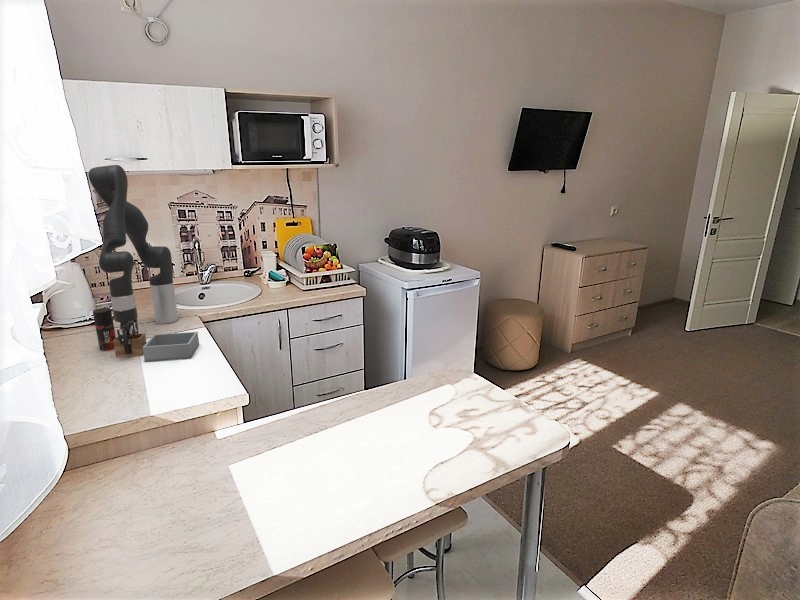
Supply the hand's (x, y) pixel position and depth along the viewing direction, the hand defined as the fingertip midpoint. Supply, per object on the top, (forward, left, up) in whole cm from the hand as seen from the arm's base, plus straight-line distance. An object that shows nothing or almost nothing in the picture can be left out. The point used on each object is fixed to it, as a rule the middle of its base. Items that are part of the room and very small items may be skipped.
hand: (131, 350), depth 185 cm
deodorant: (-8, -11, -1) cm, 14 cm away
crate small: (0, 0, -1) cm, 1 cm away
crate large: (+3, +15, -1) cm, 15 cm away
